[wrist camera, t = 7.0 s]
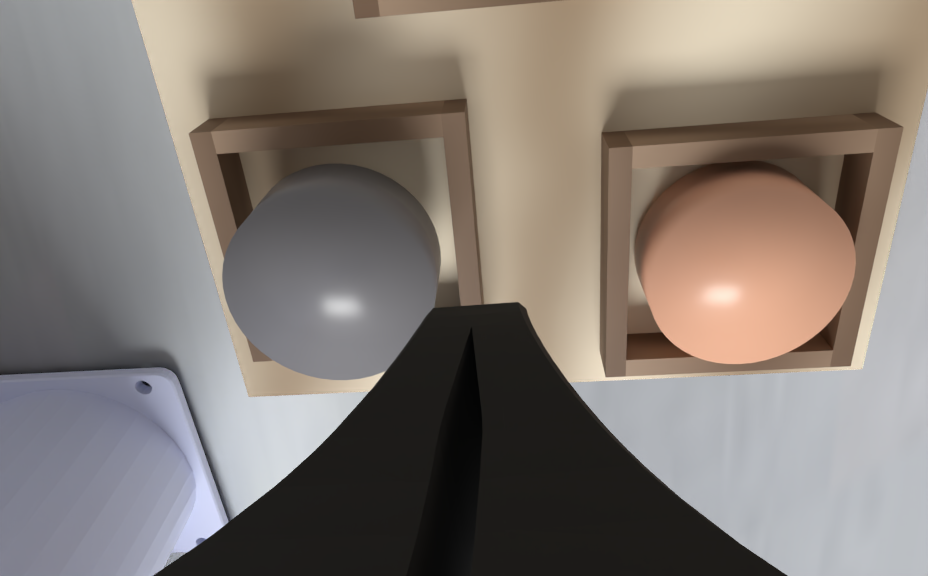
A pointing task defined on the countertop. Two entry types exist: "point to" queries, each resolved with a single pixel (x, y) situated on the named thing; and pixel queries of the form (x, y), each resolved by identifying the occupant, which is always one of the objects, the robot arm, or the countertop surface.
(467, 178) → the button panel
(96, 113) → the countertop surface
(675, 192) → the terracotta button
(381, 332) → the charcoal button
